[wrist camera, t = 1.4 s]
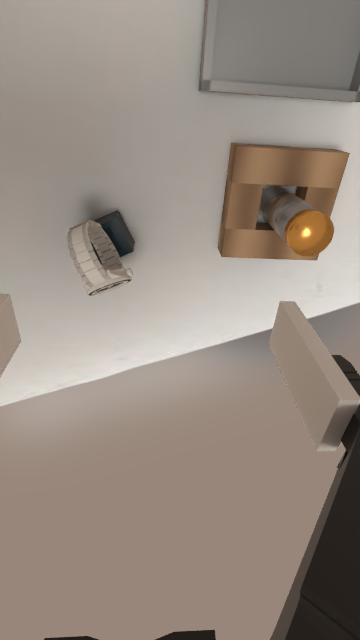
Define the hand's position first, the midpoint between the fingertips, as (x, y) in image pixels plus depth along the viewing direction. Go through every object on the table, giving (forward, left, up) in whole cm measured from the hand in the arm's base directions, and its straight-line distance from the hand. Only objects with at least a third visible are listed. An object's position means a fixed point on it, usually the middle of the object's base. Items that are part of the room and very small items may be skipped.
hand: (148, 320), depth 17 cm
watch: (-6, -5, -27) cm, 28 cm away
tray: (+12, +17, -27) cm, 34 cm away
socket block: (+14, 0, -27) cm, 30 cm away
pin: (+14, 0, -27) cm, 30 cm away
